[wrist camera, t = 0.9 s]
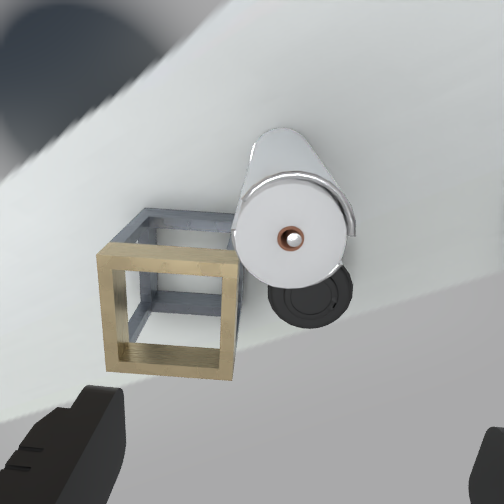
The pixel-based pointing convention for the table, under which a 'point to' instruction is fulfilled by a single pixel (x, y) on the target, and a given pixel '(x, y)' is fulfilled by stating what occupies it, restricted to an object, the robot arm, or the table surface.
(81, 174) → the table surface
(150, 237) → the collar stand
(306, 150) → the silver metal cylinder
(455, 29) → the table surface
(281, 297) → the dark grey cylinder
